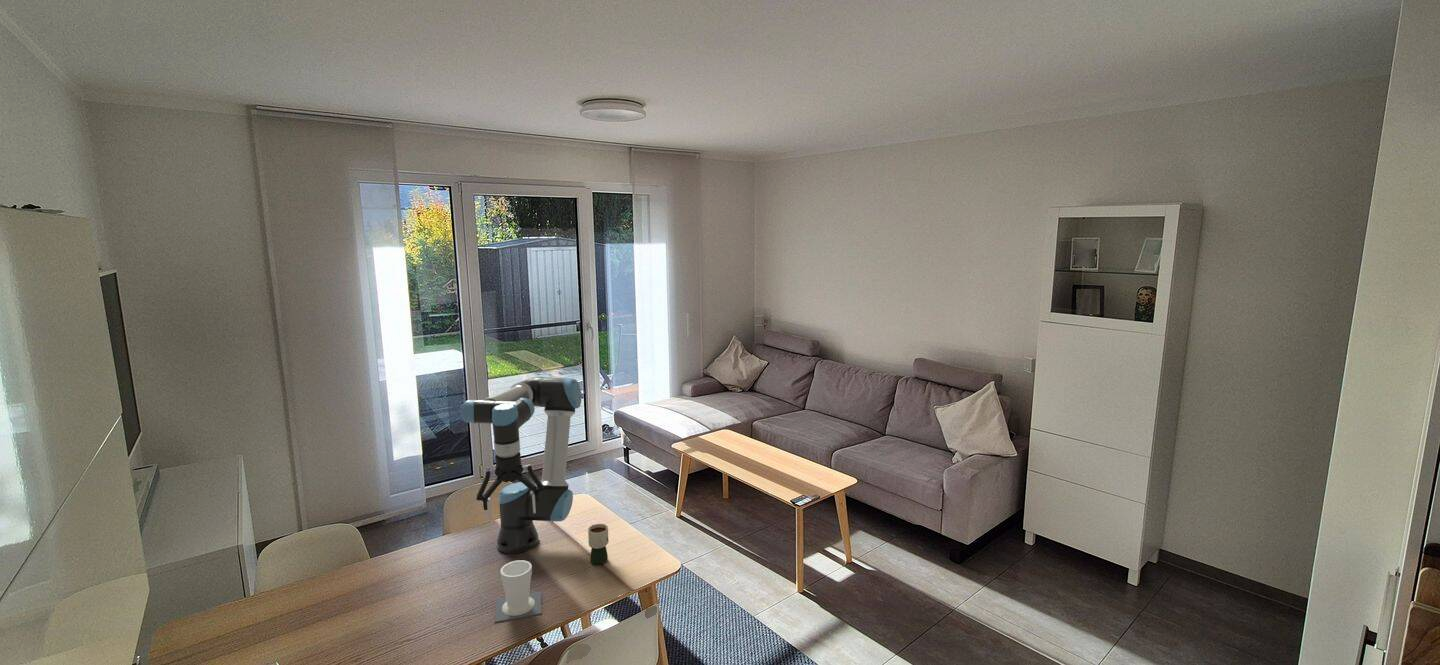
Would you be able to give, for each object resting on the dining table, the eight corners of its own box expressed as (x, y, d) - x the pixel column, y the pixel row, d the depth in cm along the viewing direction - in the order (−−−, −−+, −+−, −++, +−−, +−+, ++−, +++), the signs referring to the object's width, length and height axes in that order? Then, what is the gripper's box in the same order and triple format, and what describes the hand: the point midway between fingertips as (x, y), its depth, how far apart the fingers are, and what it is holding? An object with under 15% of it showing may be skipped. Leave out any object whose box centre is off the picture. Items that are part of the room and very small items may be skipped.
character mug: (613, 565, 217) (612, 532, 215) (594, 571, 214) (593, 537, 212) (603, 551, 227) (602, 519, 224) (585, 556, 223) (584, 523, 221)
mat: (495, 599, 197) (495, 598, 197) (540, 592, 202) (540, 590, 202) (494, 622, 186) (494, 621, 186) (542, 613, 190) (541, 612, 190)
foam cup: (524, 616, 188) (521, 578, 186) (497, 612, 190) (494, 575, 188) (538, 598, 197) (536, 561, 195) (513, 594, 199) (510, 558, 197)
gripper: (464, 463, 182) (470, 527, 187) (549, 452, 191) (553, 513, 195) (465, 453, 189) (471, 515, 194) (547, 443, 198) (551, 503, 202)
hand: (512, 514), depth 195 cm, fingers open, 13 cm apart
